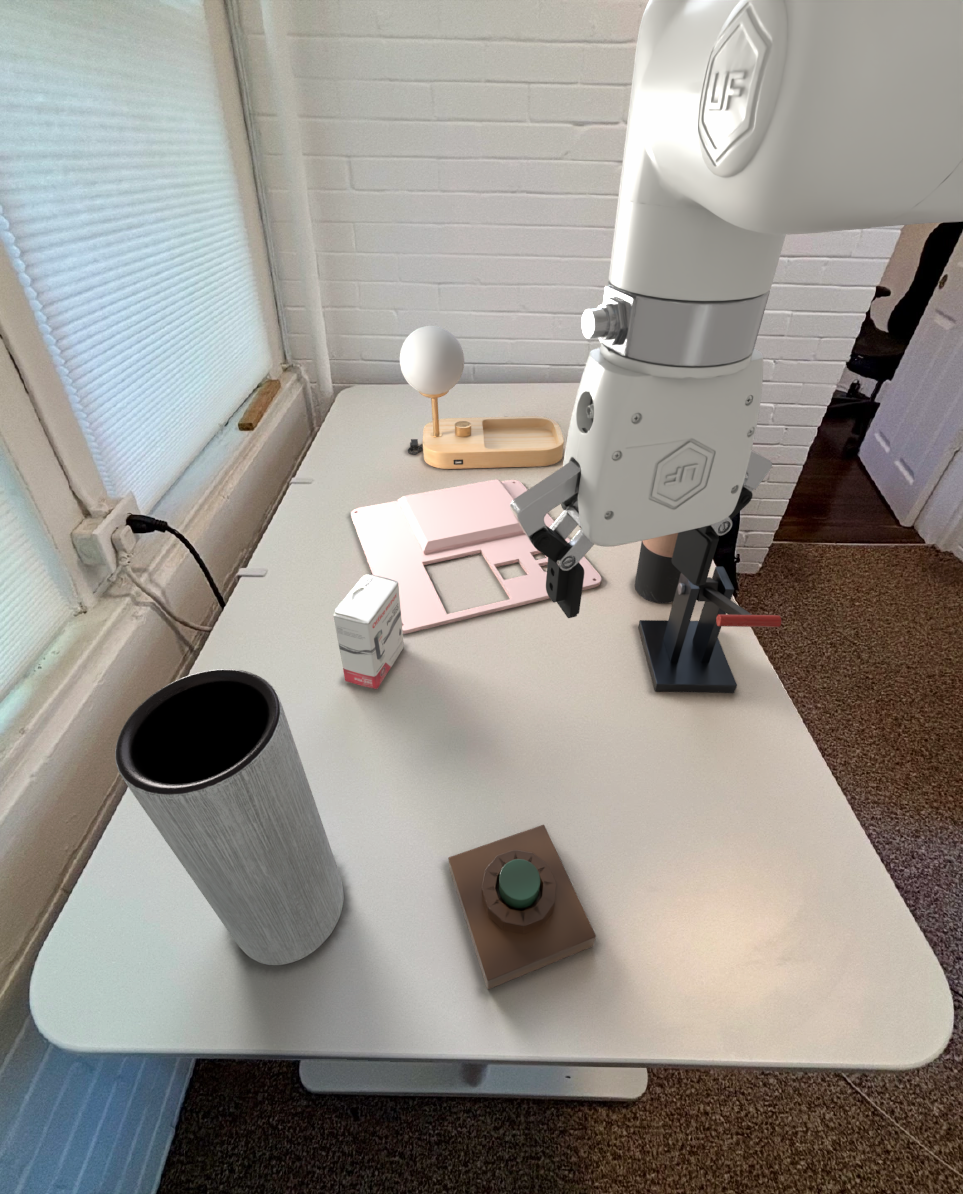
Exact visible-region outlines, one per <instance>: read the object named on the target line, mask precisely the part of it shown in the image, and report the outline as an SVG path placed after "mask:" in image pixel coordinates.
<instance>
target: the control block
mask: <svg viewBox="0 0 963 1194" xmlns="http://www.w3.org/2000/svg"><path fill="white" fill-rule="evenodd" d="M515 859H523V860H526V861H528V862H530V863H532V864H533V865H534V866H535V867H536V869H537V870H538V872H539V875H540V889H539V895H538V897H537V899H536V901H535V902H534V903H533V904H532V905H531V906H529V907H526V908H522V909H519V908H514V907H511V906H509V905H508V904H507V903H506V902H505V901H504V900H503V899H502V897H501V895H500V892H499V875H500V872H501V870H502V868H503V866H504V865H505V864H506V863H508V862H509V861H512V860H515ZM448 869H449V872H450V875H451V879H452V882H453V885H454V889H455V891H456V894H457V897H458V901H459V904H460V907H461V910H462V914H463V916H464V920H465V924H466V926H467V929H468V933H469V936H470V939H471V942H472V946H473V948H474V951H475V955H476V958H477V961H478V965H479V967H480V971H481V974H482V977H483V980H484V983H485V986H486V989H487V990H491V989H493V988H495V987H498V986H500V985H502V984H505V983H508V982H509V981H512V980H515V979H517V978H519V977H522V976H525V975H526V974H530V973H532V972H535V971H536V970H539V969H541V968H544V967H546V966H549V965H551V964H553V963H556V962H559V961H561V960H564V959H566V958H568V957H570V956H573V955H576V954H578V953H580V952H583V951H585V950H587V949H590V948H593V947H594V945H595V941H596V938H597V935H596V933H595V931H594V929H593V927H592V924H591V922H590V919H589V918H588V916H587V914H586V911H585V909H584V907H583V905H582V903H581V901H580V898H579V896H578V895H577V892H576V890H575V888H574V885H573V884H572V881H571V879H570V876H569V874H568V873H567V871H566V868H565V867H564V864H563V862H562V859H561V858H560V856H559V853H558V851H557V849H556V847H555V844H554V842H553V841H552V838H551V836H550V834H549V832H548V830H547V828H546V826H545V824H541V825H538V826H535V827H532V828H529V829H527V830H523V831H521V832H518V833H515V834H513V835H508V836H507V837H503V838H501V839H497V840H494V841H491V842H489V843H486V844H483V845H480V846H477V847H474V848H471V849H469V850H466V851H463V852H460V853H457V854H453V855H452V856H451V855H450V856H449V857H448Z"/></svg>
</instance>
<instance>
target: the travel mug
mask: <svg viewBox="0 0 963 1194" xmlns="http://www.w3.org/2000/svg"><path fill="white" fill-rule="evenodd" d="M677 536H678V533H675V534H670V535H666V536H661V537H657V538H652V539H647V540H643V541H640V542H641V543H640V548H639V549H640V550H639V553H638V560H637V567H636V572H635V573H636V574H635V578H634V579H635V580H634V588H635V592H636V593H637V594H638V595H639V596H640V597H641V598H643V599H644V600H645V601H648V602H652V603H655V604H671V603H673V601H674V597H675V593H676V589H677V586H678V582H679V578H680V574H681V572H680V571H679V570H678V569H677V568H676V567H675V566H674V565H673V564H672V556H673V552H674V548H675V544H676V540H677Z"/></svg>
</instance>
